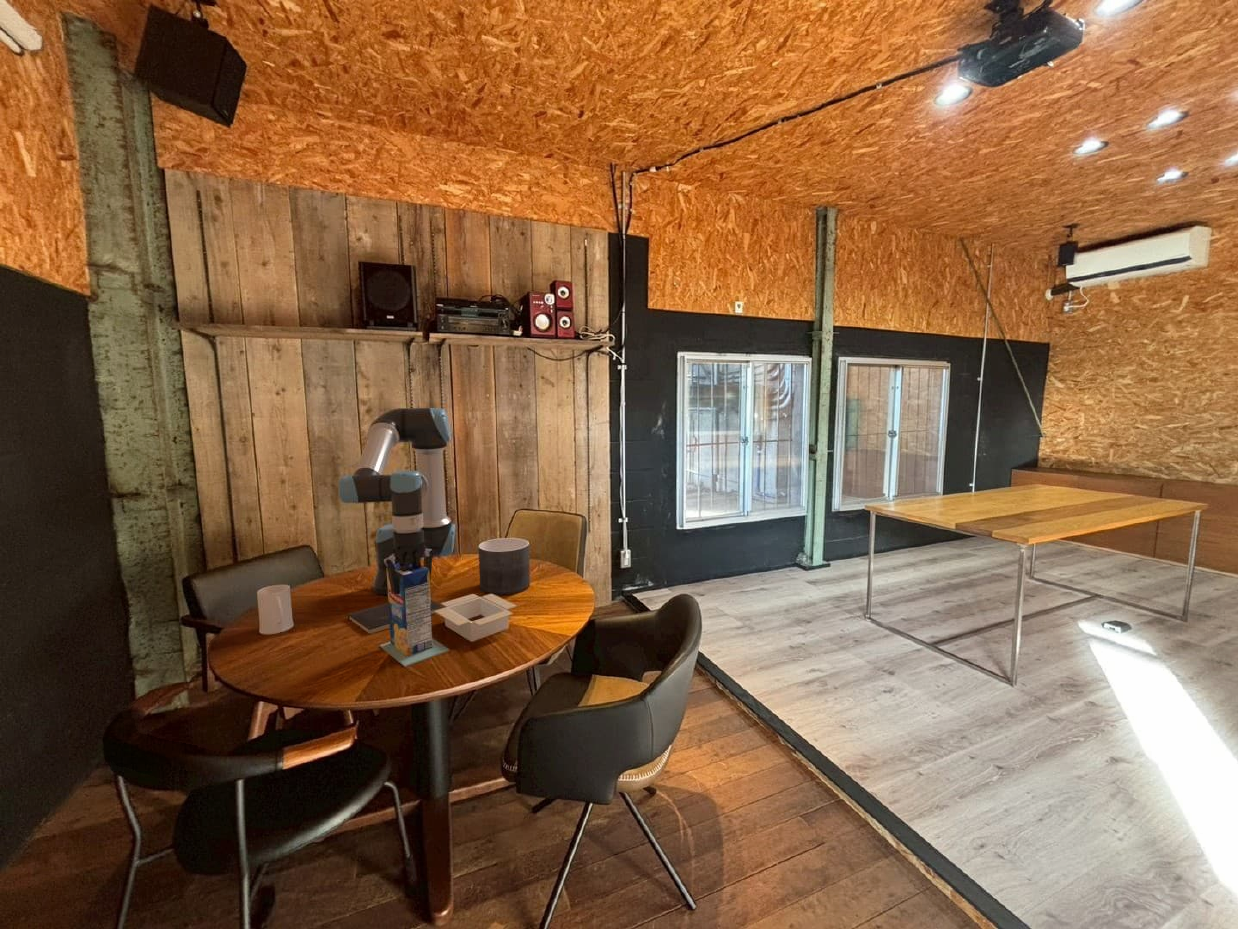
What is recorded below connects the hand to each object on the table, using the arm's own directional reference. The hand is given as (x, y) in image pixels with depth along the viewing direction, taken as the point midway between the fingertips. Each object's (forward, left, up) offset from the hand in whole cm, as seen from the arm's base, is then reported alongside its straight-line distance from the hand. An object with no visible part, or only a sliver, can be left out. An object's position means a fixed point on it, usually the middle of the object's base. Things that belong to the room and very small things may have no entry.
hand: (412, 614), depth 139 cm
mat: (0, 0, -10) cm, 10 cm away
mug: (-40, -23, -10) cm, 47 cm away
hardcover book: (-26, +6, -10) cm, 28 cm away
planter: (-23, +44, -10) cm, 51 cm away
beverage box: (-2, 0, -9) cm, 10 cm away
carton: (0, +19, -10) cm, 21 cm away
